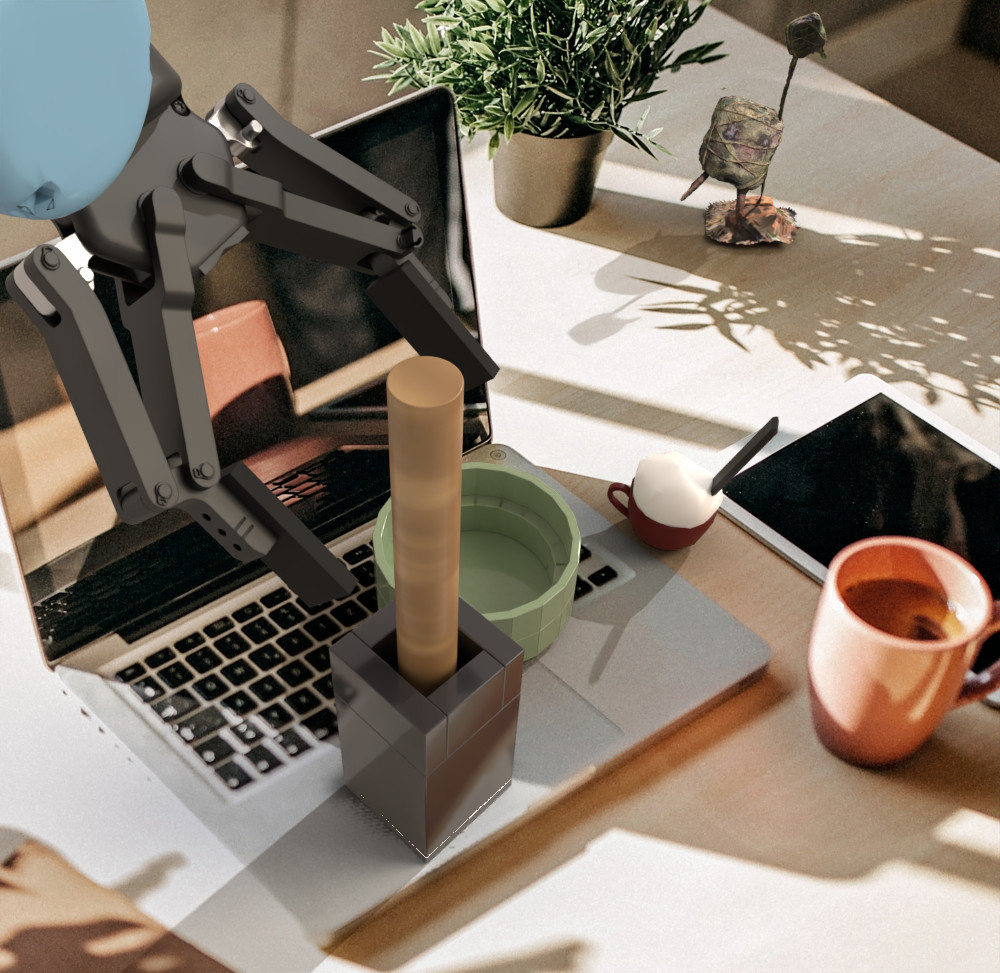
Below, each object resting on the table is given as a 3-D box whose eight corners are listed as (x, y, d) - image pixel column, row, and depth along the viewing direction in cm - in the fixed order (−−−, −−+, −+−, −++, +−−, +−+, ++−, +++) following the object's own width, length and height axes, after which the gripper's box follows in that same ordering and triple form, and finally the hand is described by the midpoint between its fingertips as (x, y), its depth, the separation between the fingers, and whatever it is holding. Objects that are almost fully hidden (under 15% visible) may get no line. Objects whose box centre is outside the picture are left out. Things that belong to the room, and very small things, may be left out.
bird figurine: (691, 189, 112) (729, -15, 98) (805, 217, 110) (862, 12, 95) (669, 233, 107) (706, 24, 93) (788, 263, 105) (845, 54, 90)
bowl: (475, 714, 71) (478, 659, 67) (336, 593, 77) (330, 535, 73) (612, 595, 78) (622, 538, 74) (474, 492, 84) (476, 433, 79)
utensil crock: (426, 865, 64) (424, 735, 54) (344, 784, 68) (328, 647, 57) (511, 784, 68) (525, 649, 58) (430, 712, 71) (429, 571, 61)
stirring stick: (426, 727, 59) (423, 418, 43) (387, 692, 60) (370, 379, 44) (467, 692, 61) (480, 381, 44) (428, 658, 62) (426, 345, 46)
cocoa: (592, 528, 82) (611, 405, 73) (637, 478, 86) (661, 355, 77) (709, 592, 78) (744, 472, 70) (751, 537, 82) (789, 415, 73)
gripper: (182, -11, 52) (474, 339, 60) (-271, 295, 36) (204, 720, 44) (271, -112, 47) (579, 285, 54) (-212, 194, 31) (315, 695, 39)
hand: (412, 480), depth 49 cm, fingers open, 13 cm apart
